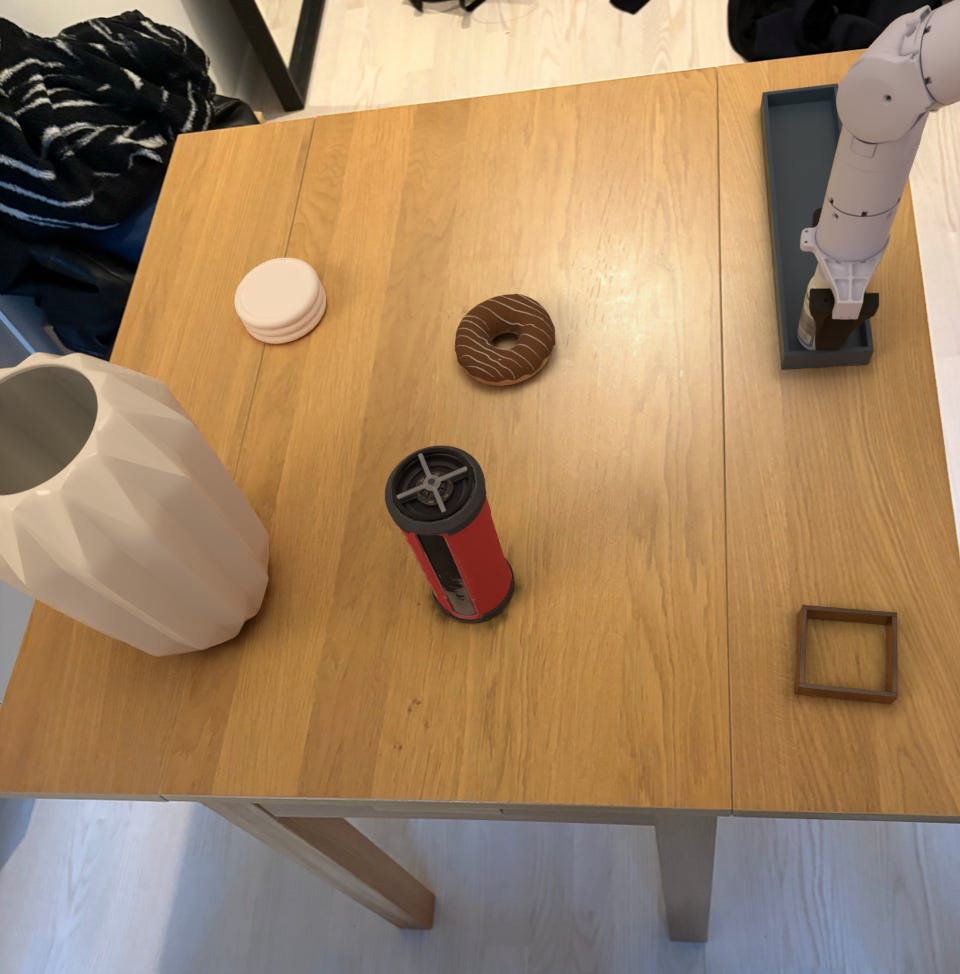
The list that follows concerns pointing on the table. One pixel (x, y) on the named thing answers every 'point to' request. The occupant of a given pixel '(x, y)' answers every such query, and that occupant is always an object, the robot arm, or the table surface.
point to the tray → (801, 211)
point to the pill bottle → (806, 320)
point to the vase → (122, 508)
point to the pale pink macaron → (280, 300)
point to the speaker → (451, 531)
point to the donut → (497, 319)
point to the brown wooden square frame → (851, 616)
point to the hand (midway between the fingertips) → (828, 315)
